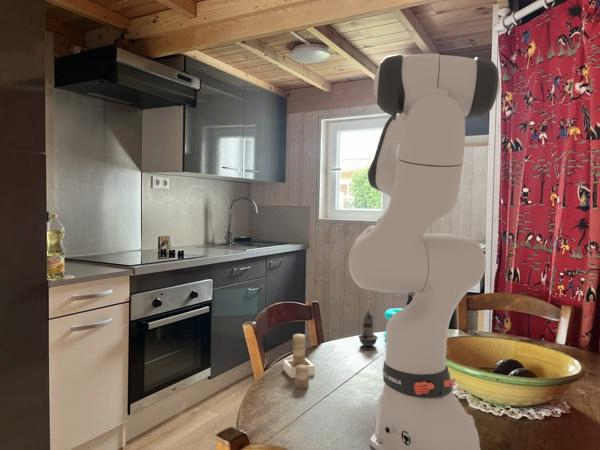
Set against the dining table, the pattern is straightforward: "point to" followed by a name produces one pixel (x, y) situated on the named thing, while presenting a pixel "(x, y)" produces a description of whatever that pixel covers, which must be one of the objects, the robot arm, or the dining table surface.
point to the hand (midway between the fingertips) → (362, 261)
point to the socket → (292, 370)
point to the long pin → (298, 349)
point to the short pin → (302, 377)
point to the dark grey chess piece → (368, 334)
